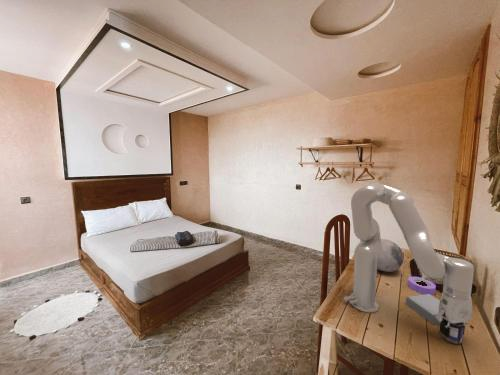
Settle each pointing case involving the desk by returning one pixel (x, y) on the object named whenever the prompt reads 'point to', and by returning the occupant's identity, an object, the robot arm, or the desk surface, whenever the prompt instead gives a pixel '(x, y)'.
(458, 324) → the pill bottle
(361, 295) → the robot arm
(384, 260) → the moon model
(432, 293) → the masking tape
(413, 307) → the podium
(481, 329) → the desk surface
